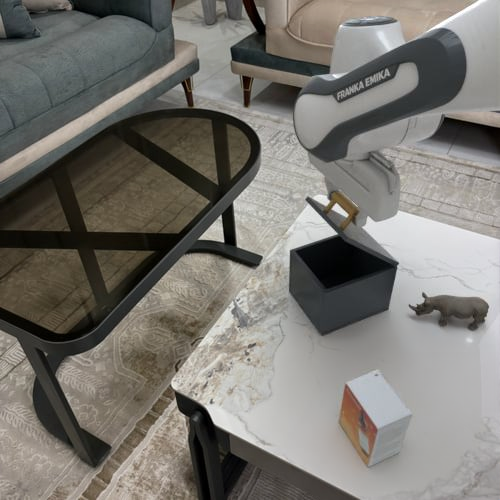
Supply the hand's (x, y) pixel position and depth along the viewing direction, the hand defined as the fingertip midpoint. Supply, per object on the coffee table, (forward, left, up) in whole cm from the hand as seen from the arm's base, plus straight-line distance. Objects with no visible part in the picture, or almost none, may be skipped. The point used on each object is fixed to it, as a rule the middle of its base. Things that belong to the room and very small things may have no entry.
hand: (345, 212), depth 81 cm
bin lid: (-1, -1, -5) cm, 5 cm away
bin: (0, 0, -21) cm, 21 cm away
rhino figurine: (-17, -10, -21) cm, 29 cm away
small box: (-21, +19, -21) cm, 35 cm away
